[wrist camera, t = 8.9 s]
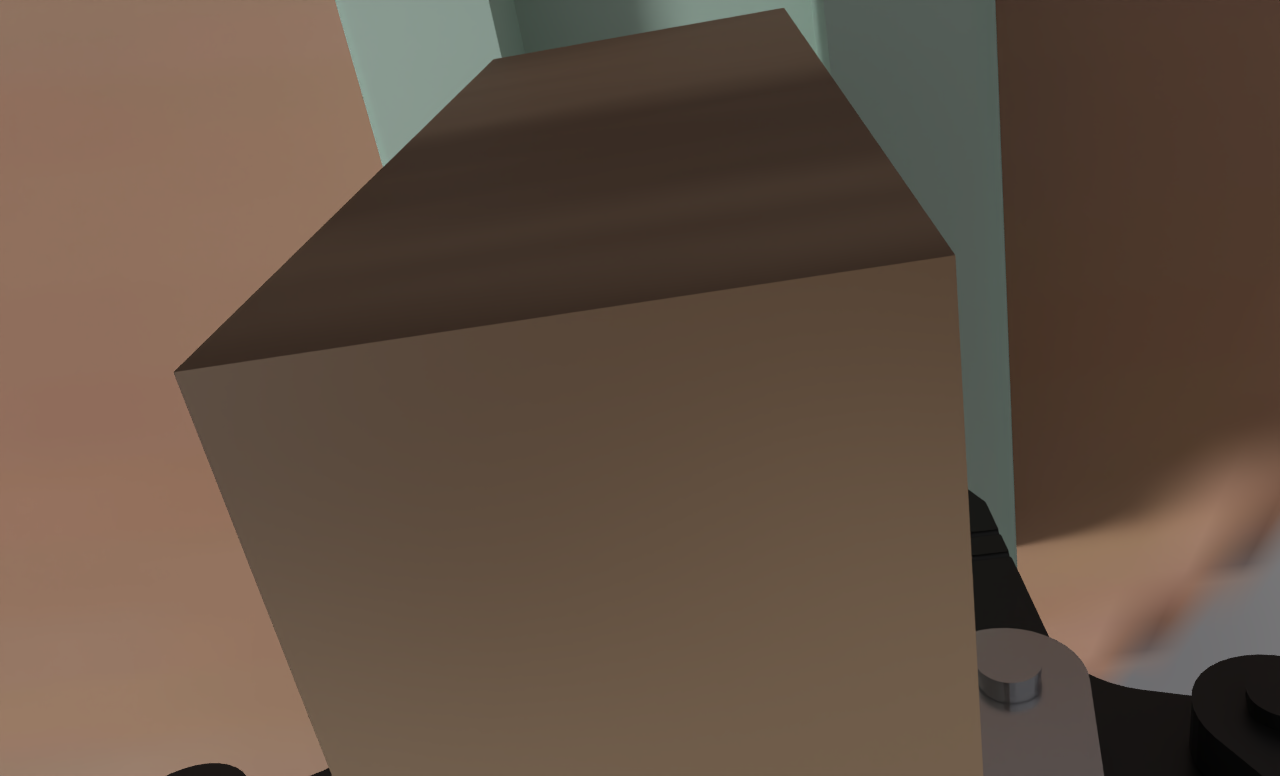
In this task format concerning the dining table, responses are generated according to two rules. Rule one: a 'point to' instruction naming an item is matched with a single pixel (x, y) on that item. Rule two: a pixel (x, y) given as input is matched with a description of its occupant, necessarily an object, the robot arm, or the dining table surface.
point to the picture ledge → (864, 71)
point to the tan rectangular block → (615, 433)
